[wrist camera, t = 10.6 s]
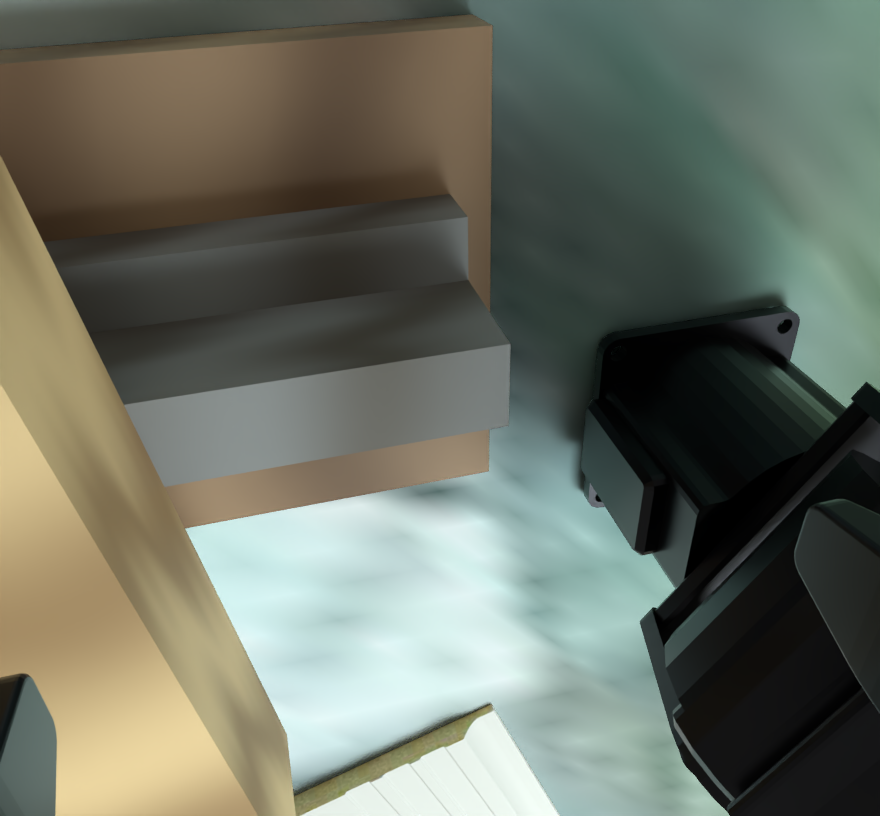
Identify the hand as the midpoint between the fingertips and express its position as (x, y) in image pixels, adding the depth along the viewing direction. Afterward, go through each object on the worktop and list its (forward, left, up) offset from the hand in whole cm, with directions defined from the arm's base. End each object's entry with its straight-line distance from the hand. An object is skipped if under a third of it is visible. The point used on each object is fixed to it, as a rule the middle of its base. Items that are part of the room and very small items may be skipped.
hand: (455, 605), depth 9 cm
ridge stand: (+6, +2, -13) cm, 14 cm away
